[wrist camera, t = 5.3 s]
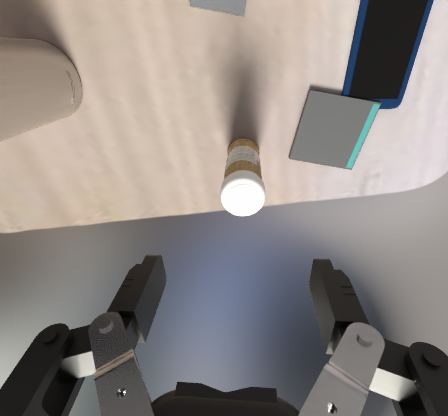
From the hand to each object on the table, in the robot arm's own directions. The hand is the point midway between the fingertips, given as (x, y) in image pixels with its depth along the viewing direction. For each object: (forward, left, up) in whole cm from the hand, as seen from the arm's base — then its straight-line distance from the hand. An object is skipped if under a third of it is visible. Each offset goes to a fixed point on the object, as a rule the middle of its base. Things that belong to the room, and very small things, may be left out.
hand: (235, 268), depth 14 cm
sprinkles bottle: (+1, -2, -26) cm, 26 cm away
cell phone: (+14, +13, -26) cm, 33 cm away
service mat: (+12, +3, -26) cm, 28 cm away
